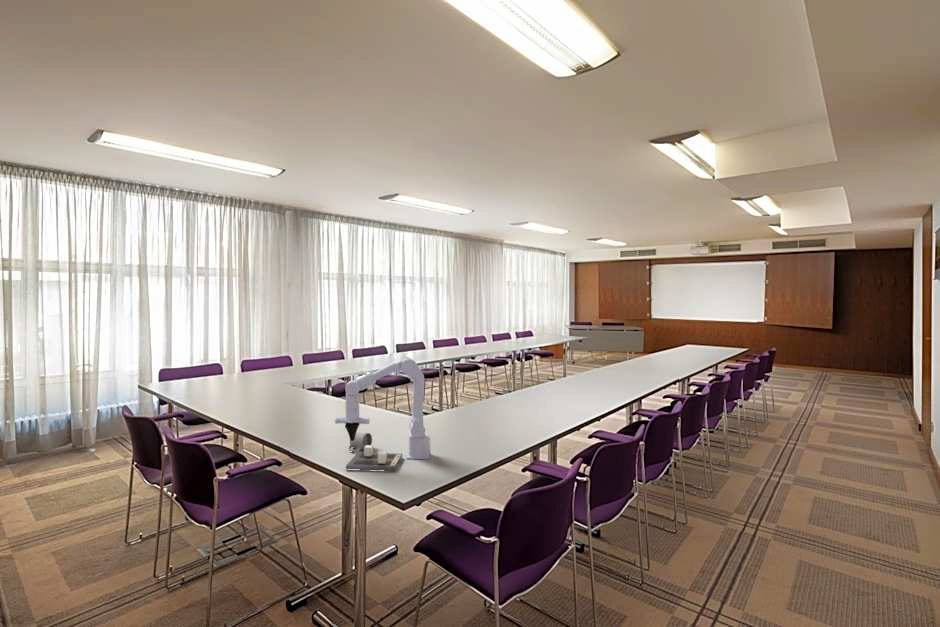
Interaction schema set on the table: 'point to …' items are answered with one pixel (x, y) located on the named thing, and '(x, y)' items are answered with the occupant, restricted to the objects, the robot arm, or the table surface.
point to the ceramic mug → (360, 441)
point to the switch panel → (374, 462)
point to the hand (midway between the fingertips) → (352, 440)
